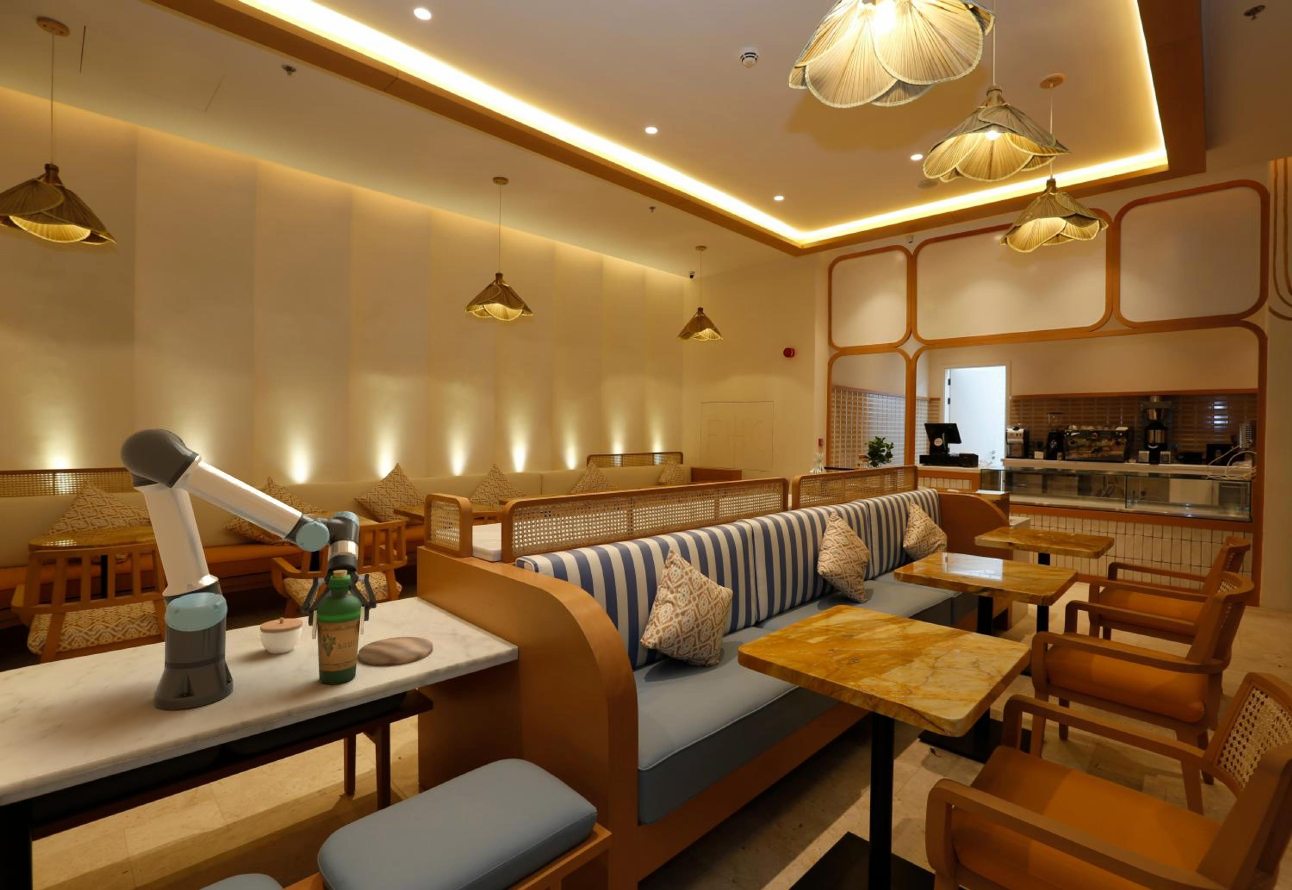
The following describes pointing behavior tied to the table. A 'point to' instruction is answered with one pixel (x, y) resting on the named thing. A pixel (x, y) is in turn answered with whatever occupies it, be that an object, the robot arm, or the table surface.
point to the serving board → (395, 651)
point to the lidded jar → (281, 634)
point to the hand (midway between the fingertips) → (338, 634)
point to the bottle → (338, 631)
